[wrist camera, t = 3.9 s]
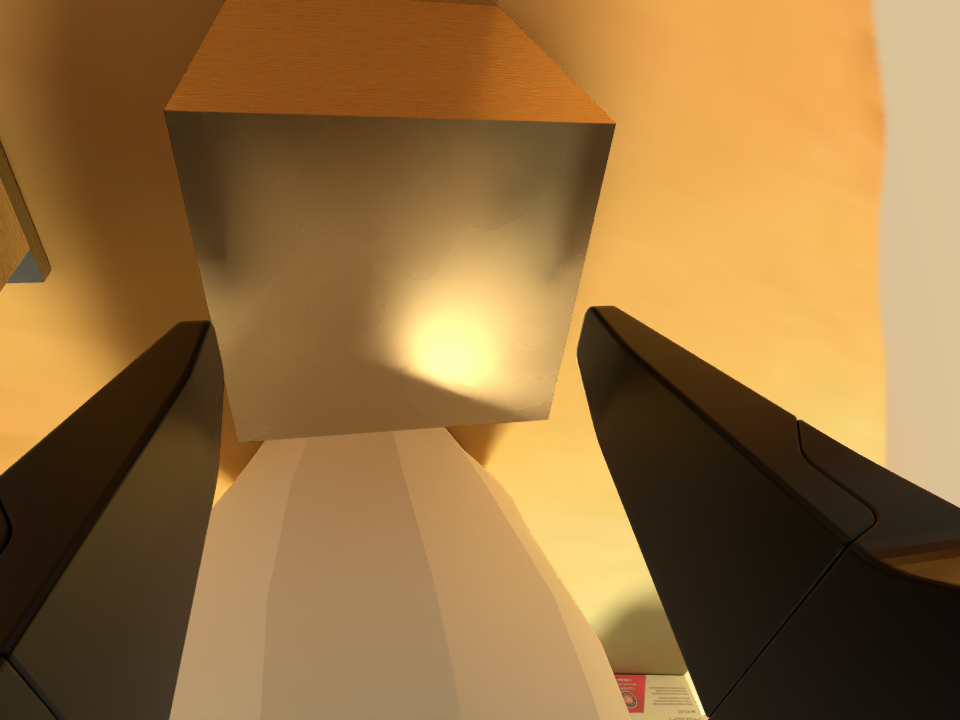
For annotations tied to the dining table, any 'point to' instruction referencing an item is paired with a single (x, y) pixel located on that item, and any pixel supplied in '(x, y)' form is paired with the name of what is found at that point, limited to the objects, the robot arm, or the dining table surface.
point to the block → (385, 212)
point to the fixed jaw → (10, 239)
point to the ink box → (658, 697)
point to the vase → (382, 594)
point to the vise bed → (35, 260)
